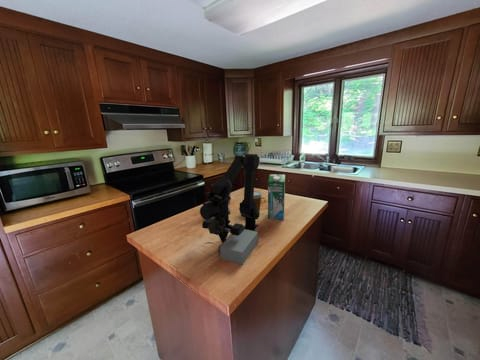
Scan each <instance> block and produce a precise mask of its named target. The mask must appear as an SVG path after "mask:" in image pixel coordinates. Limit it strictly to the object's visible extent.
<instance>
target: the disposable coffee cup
mask: <svg viewBox="0 0 480 360" xmlns="http://www.w3.org/2000/svg"><path fill="white" fill-rule="evenodd" d="M262 197H263V194H262V192H261V191H257V190H254V197H253V200H254V202H255V204H256V210H257V211H258V212H259V213H260V211H261V210H260V209H261V203H262Z"/></svg>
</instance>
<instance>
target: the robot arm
mask: <svg viewBox="0 0 480 360" xmlns="http://www.w3.org/2000/svg"><path fill="white" fill-rule="evenodd" d="M259 165H260V156H259V155H258V154H256V153H244V154H243V155H241V154H237V155H235V157H234V159H233V161H232V162H231V163H230V166H229V167H228V168H227V170H226V171H225V173H224V174H223V176H221V177H220V178H219V179H217V180H216V181H214V183H212V184H213V186H211V188H210V192H209V194H208V196H207V199H206V200H207V201H205V202H202V206H201V207H200V209H199V215H200V217H201V218H202V219H204V220H203V221H202V224H201V226H202V229H207V230H208V232H209V234H210V235H212V234H213V235H216V236H218V237H219V239H220V241H221V244H222V243H223V242H224V241H225V240H226V239H227V238H228V235H229V233H230V235H231V234H232V235H236V236H238V235H240V234H241V233H242V232H243V231H244V229H245V230H250V231H256V229H257V228H258V226H259V225H258V224H257V221H256V220H259V218H260V215H261V214H260V211H259V212H258V211H257V210H256V204H255V202H254V200H253V197H254V191H255V178H256V177H255V176H256V171H257V169H258V168H259ZM242 169H243V170H244V188H243V189H244V190H243V192H244V193H243V199H242V201H240V202H239V209H238V210H239V214H240V217H243V218H244V225H243V223H238V222H235V223H234V224H231V220H230V218H229V217H230V215H231V212H229V211H228V207H229V206H228V200H230V199H231V200H232V197H231V196H230V197H229V194H230V195H231V192H232V190H233V183H234V181H235V179H236V178H237V177H238V174H239V173H240V171H241V170H242ZM217 196H219V197H220V198H218V197H217ZM231 200H230V201H231Z"/></svg>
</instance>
